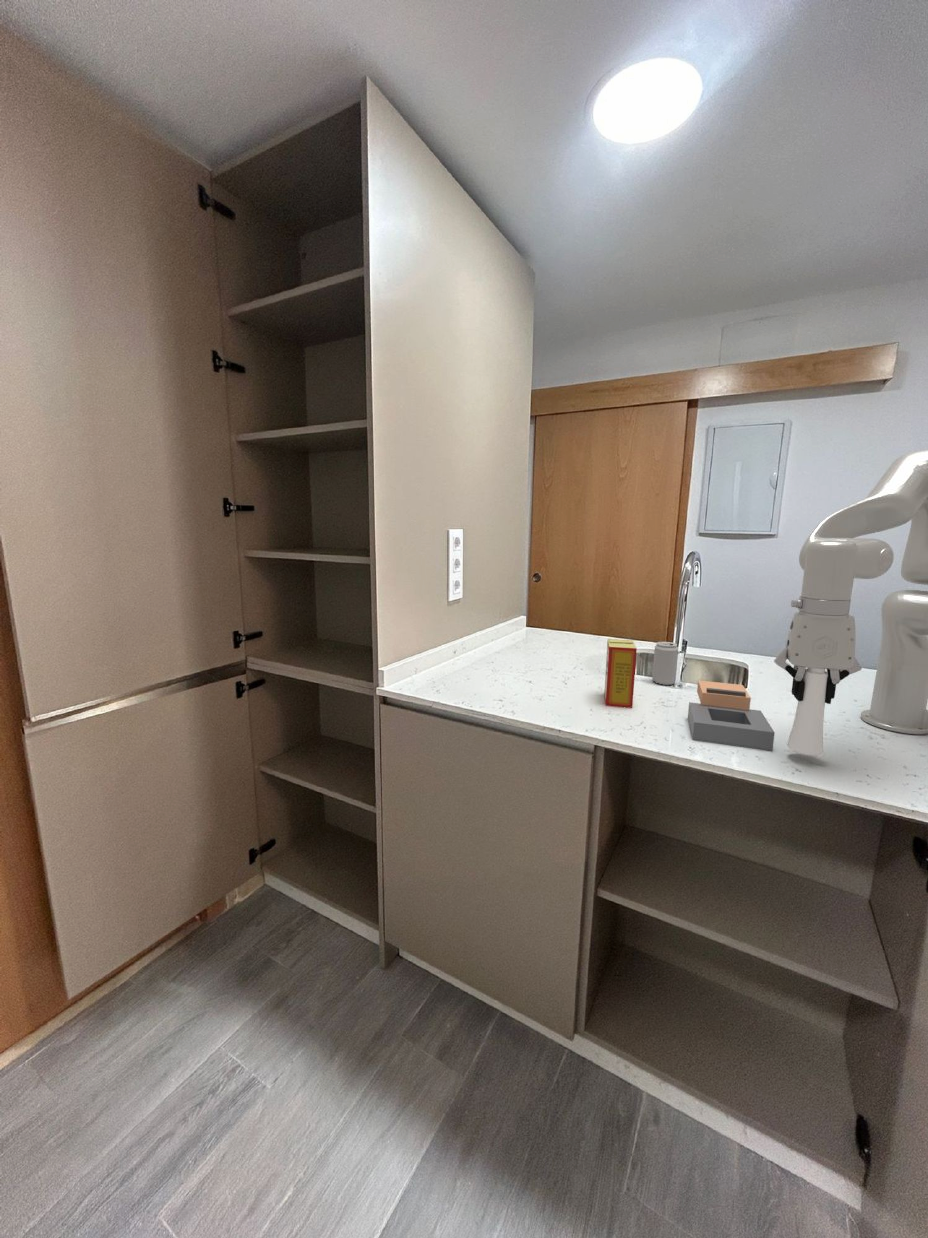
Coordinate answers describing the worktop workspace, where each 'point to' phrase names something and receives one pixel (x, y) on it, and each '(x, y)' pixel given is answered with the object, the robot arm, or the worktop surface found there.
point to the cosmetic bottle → (810, 715)
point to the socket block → (730, 726)
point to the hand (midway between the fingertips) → (811, 699)
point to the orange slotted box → (723, 695)
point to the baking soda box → (620, 673)
